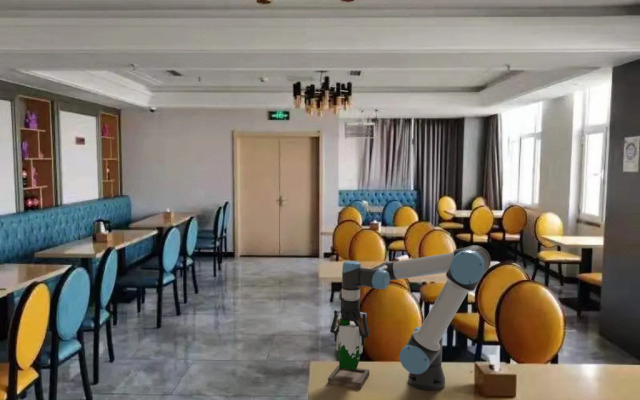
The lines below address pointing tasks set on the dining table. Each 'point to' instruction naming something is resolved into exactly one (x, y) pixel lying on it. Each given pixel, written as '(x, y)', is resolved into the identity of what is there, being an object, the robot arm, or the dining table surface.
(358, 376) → the walnut tray
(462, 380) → the dining table surface
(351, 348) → the soya milk
